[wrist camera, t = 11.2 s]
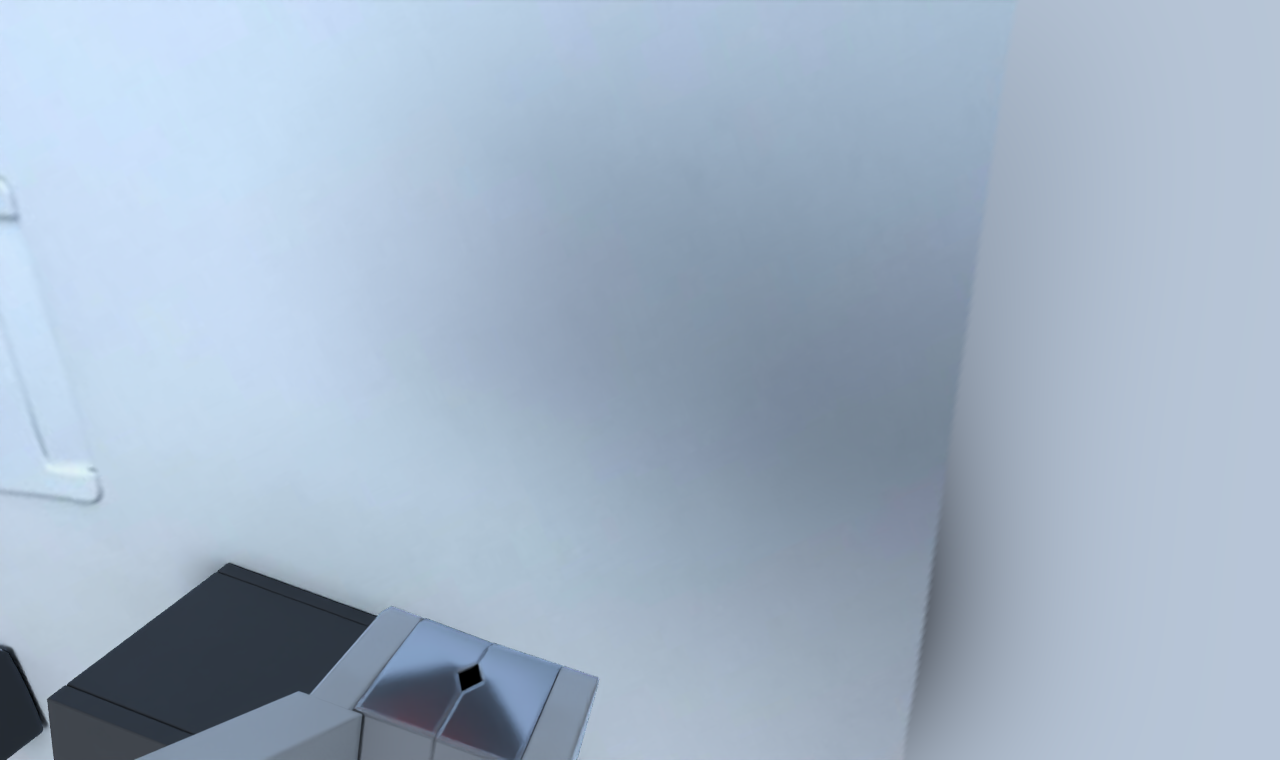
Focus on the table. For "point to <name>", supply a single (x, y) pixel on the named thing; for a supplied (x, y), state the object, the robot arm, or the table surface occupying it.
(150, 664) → the dark grey box
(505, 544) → the table surface
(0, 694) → the battery charger
